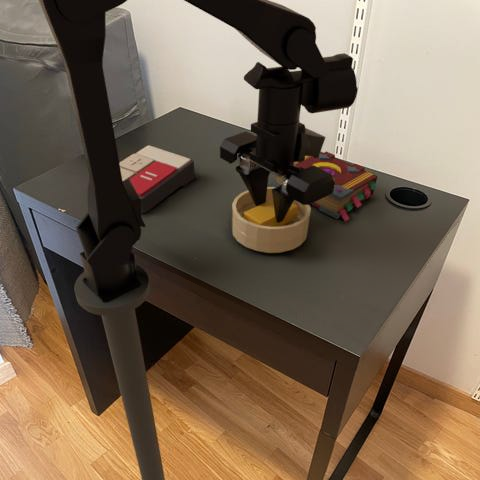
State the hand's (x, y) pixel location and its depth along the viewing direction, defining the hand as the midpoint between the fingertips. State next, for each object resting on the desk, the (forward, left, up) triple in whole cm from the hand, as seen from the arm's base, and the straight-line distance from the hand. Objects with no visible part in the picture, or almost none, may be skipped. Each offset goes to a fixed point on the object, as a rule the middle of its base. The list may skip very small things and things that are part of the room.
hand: (270, 215), depth 76 cm
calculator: (-7, +25, -4) cm, 26 cm away
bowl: (0, 0, -3) cm, 3 cm away
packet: (0, 0, -1) cm, 1 cm away
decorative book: (+17, +3, -4) cm, 17 cm away
